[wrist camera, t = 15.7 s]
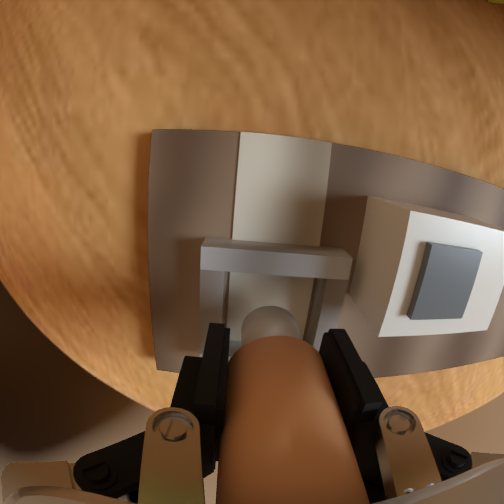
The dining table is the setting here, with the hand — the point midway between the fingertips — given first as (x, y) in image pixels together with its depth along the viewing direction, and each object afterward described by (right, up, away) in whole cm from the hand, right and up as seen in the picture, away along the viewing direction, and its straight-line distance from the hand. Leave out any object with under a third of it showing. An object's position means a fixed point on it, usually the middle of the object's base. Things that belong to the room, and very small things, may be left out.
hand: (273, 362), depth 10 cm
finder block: (+8, +4, +3) cm, 9 cm away
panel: (+9, +2, +5) cm, 10 cm away
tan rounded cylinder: (0, +1, +2) cm, 2 cm away
